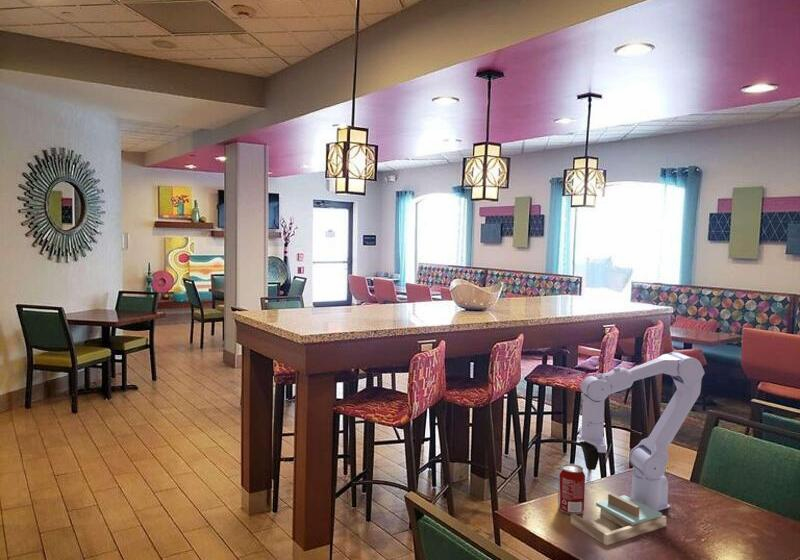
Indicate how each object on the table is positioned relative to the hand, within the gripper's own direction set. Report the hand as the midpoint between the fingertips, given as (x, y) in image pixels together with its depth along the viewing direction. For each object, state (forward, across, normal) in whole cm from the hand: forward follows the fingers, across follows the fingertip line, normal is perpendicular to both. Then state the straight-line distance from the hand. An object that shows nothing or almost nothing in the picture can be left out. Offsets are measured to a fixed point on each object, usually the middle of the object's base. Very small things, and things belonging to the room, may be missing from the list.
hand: (590, 468), depth 160 cm
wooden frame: (+10, +11, +3) cm, 15 cm away
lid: (+8, +9, +7) cm, 14 cm away
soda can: (+11, +3, -6) cm, 13 cm away
